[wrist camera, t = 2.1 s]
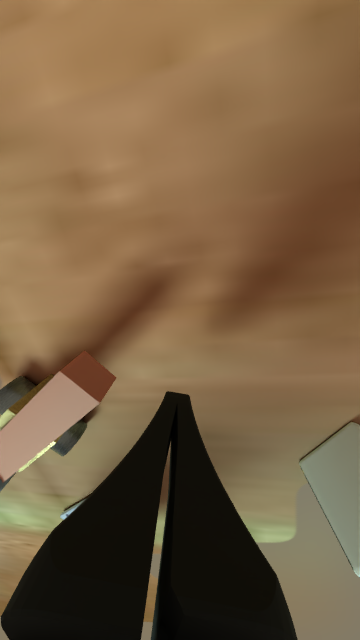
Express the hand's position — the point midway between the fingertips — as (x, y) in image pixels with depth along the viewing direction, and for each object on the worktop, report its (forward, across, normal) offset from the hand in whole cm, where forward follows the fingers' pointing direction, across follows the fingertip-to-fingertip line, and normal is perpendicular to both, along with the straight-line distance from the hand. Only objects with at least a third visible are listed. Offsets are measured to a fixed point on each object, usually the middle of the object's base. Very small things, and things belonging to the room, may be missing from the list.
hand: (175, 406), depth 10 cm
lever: (+1, +9, +4) cm, 10 cm away
